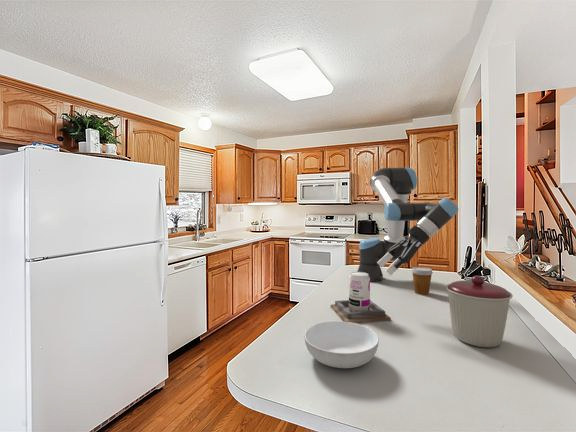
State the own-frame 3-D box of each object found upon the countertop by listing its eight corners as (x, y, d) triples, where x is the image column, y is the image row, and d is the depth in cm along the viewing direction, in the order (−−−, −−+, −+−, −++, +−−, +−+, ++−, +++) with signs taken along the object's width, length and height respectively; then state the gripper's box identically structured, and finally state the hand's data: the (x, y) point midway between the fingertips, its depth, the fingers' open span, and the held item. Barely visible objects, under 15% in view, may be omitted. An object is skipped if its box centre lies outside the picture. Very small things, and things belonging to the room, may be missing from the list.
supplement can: (367, 307, 125) (368, 271, 124) (371, 314, 117) (371, 276, 116) (347, 306, 126) (348, 271, 125) (350, 314, 117) (350, 276, 117)
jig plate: (330, 306, 128) (330, 299, 128) (370, 304, 131) (370, 297, 131) (345, 323, 111) (345, 315, 111) (390, 320, 114) (390, 312, 113)
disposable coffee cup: (435, 296, 143) (436, 271, 142) (415, 295, 143) (416, 271, 142) (427, 290, 152) (427, 266, 152) (408, 290, 152) (408, 266, 152)
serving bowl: (328, 335, 101) (328, 315, 101) (389, 355, 88) (390, 332, 87) (289, 361, 85) (289, 337, 85) (357, 390, 72) (357, 362, 71)
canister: (446, 324, 109) (447, 267, 108) (507, 335, 100) (509, 273, 99) (443, 345, 94) (444, 278, 93) (514, 360, 85) (517, 286, 84)
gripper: (443, 242, 105) (399, 284, 107) (417, 234, 130) (382, 268, 132) (428, 227, 105) (384, 269, 107) (405, 222, 130) (370, 256, 132)
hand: (383, 268), depth 119 cm, fingers open, 13 cm apart
